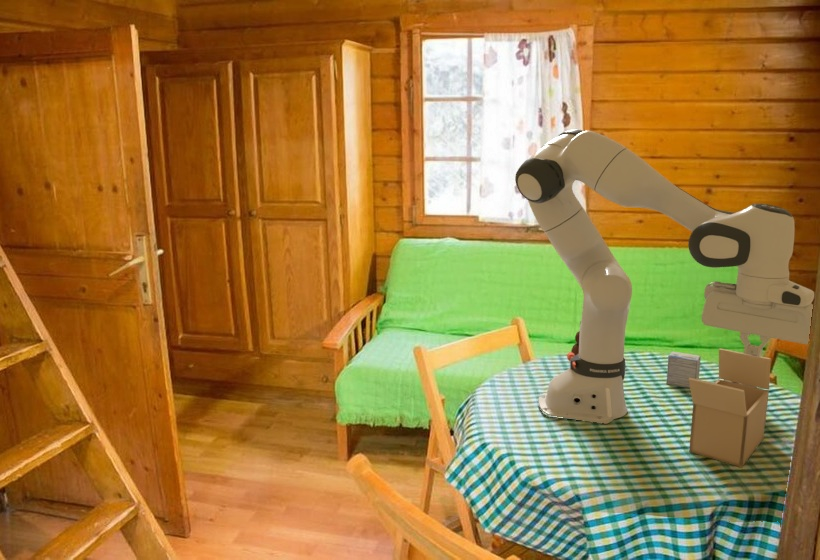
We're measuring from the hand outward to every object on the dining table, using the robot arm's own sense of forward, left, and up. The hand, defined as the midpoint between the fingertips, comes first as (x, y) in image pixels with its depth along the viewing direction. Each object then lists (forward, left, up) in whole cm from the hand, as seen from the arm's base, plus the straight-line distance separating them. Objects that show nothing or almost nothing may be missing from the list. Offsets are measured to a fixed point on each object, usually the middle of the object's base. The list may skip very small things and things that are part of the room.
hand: (752, 354), depth 130 cm
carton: (+2, +13, -27) cm, 30 cm away
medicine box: (+2, +49, -27) cm, 56 cm away
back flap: (+6, +19, -10) cm, 23 cm away
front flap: (-4, +4, -11) cm, 12 cm away
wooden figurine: (-24, +61, -27) cm, 71 cm away
